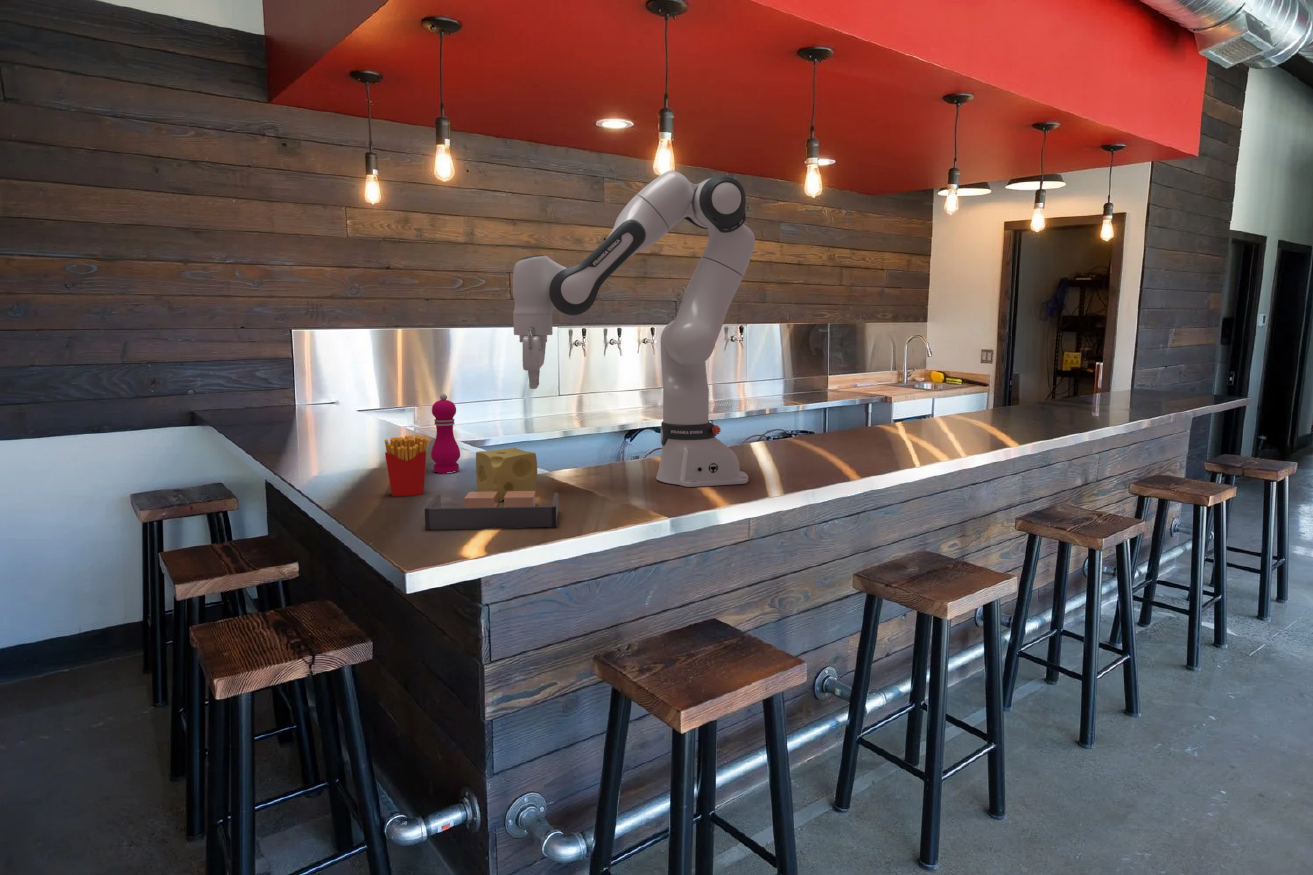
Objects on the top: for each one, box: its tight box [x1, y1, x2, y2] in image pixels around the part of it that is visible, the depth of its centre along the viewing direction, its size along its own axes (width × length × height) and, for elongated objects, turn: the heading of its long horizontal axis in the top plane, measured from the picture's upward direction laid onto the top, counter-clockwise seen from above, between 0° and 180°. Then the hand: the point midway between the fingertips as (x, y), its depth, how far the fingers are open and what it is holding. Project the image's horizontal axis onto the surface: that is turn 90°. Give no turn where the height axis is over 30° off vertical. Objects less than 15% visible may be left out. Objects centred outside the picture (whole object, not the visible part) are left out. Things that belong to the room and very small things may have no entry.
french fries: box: [384, 435, 429, 497], centre depth 178 cm, size 9×4×13 cm, turn 111°
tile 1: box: [463, 491, 499, 507], centre depth 166 cm, size 6×6×3 cm
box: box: [424, 492, 560, 531], centre depth 156 cm, size 24×12×4 cm, turn 95°
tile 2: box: [503, 490, 537, 507], centre depth 167 cm, size 6×6×3 cm
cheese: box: [475, 447, 538, 501], centre depth 177 cm, size 10×11×10 cm
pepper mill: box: [430, 393, 461, 474], centre depth 202 cm, size 7×7×20 cm
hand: (534, 387), depth 184 cm, fingers open, 4 cm apart
